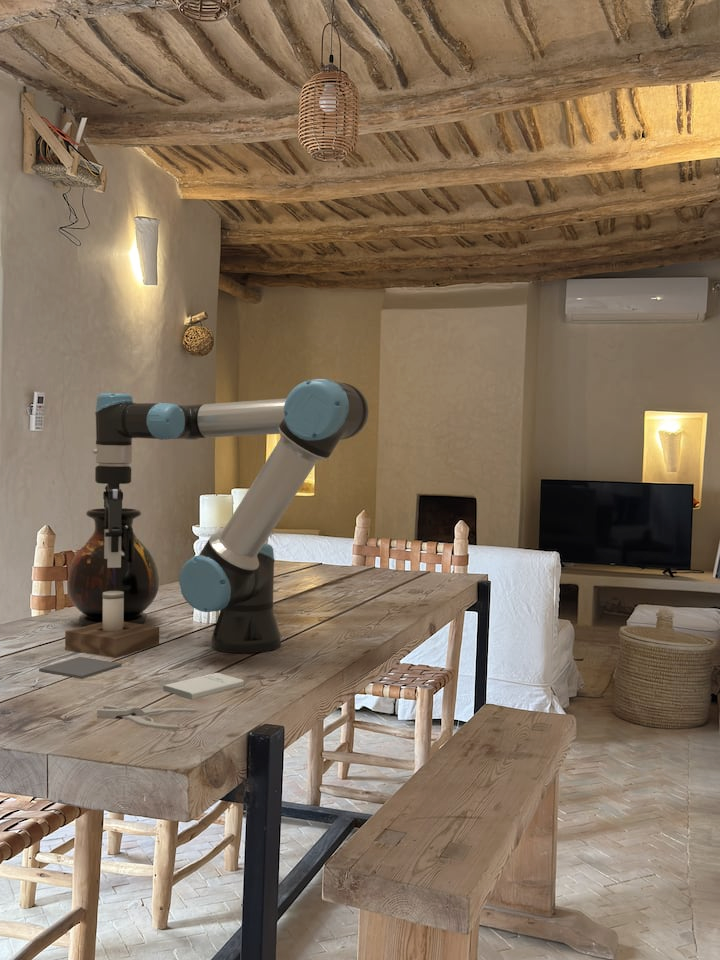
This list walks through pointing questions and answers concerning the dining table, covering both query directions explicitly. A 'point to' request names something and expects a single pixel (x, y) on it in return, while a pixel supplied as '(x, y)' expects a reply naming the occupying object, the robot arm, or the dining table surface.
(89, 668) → the mat
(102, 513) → the amphora vase
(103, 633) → the socket block
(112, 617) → the plug
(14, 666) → the dining table surface
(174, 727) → the pliers
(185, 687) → the external hard drive
